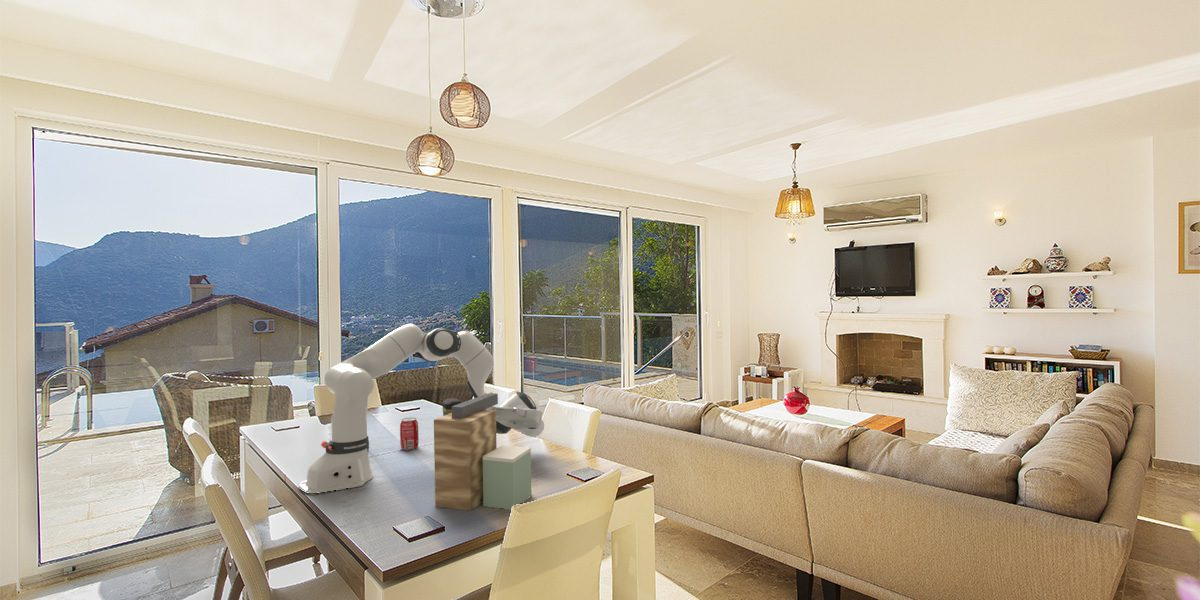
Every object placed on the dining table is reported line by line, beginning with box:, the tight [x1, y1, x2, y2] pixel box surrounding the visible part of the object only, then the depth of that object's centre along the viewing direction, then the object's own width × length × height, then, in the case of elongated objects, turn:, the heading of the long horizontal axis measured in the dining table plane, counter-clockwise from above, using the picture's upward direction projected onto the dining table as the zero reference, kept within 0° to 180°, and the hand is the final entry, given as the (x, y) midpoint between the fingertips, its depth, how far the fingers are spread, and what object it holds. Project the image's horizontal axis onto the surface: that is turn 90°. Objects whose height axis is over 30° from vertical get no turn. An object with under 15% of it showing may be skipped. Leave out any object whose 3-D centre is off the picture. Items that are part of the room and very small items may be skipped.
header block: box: [482, 445, 532, 511], centre depth 170 cm, size 12×10×15 cm
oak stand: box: [433, 410, 498, 511], centre depth 172 cm, size 16×12×26 cm
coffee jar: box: [442, 397, 464, 416], centre depth 234 cm, size 10×8×19 cm
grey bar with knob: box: [452, 391, 499, 419], centre depth 177 cm, size 22×4×4 cm, turn 162°
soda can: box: [399, 417, 420, 451], centre depth 227 cm, size 7×7×12 cm
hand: (503, 409), depth 195 cm, fingers open, 8 cm apart
